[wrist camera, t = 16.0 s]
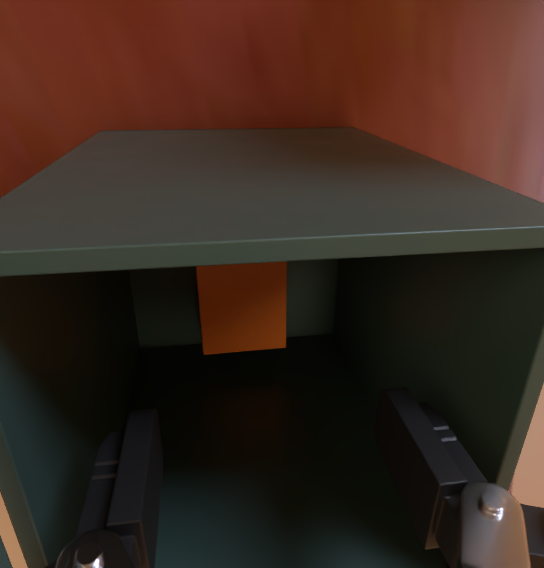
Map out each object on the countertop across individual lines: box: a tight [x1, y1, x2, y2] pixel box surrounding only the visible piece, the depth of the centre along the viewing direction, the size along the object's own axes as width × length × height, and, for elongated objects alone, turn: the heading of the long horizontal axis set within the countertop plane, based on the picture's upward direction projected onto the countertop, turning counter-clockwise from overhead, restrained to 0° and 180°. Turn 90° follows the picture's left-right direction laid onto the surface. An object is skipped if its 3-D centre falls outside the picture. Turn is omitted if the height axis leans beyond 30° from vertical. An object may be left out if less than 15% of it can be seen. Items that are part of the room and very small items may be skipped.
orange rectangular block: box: [196, 261, 287, 355], centre depth 24 cm, size 4×9×4 cm, turn 0°
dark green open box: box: [0, 127, 544, 568], centre depth 19 cm, size 13×13×16 cm
